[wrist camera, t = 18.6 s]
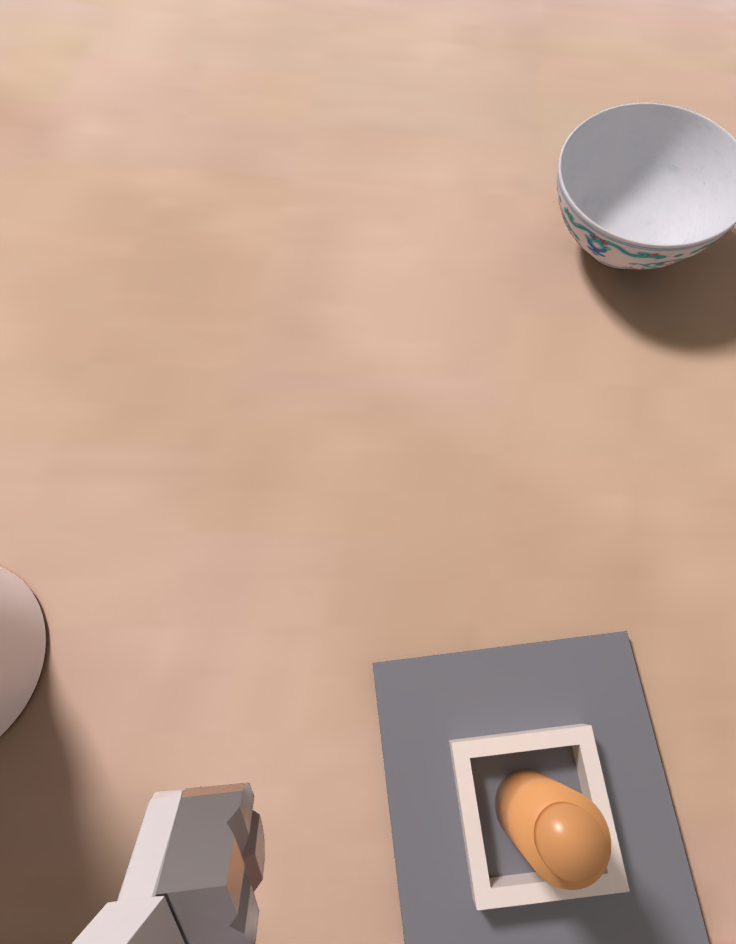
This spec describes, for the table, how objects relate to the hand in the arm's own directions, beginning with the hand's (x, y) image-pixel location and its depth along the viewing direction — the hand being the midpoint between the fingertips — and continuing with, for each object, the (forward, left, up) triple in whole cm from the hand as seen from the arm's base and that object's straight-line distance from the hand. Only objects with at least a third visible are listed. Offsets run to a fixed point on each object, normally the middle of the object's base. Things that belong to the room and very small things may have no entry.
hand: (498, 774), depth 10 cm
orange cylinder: (+6, -7, -33) cm, 34 cm away
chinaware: (+24, +37, -34) cm, 56 cm away
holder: (+6, -7, -33) cm, 35 cm away
